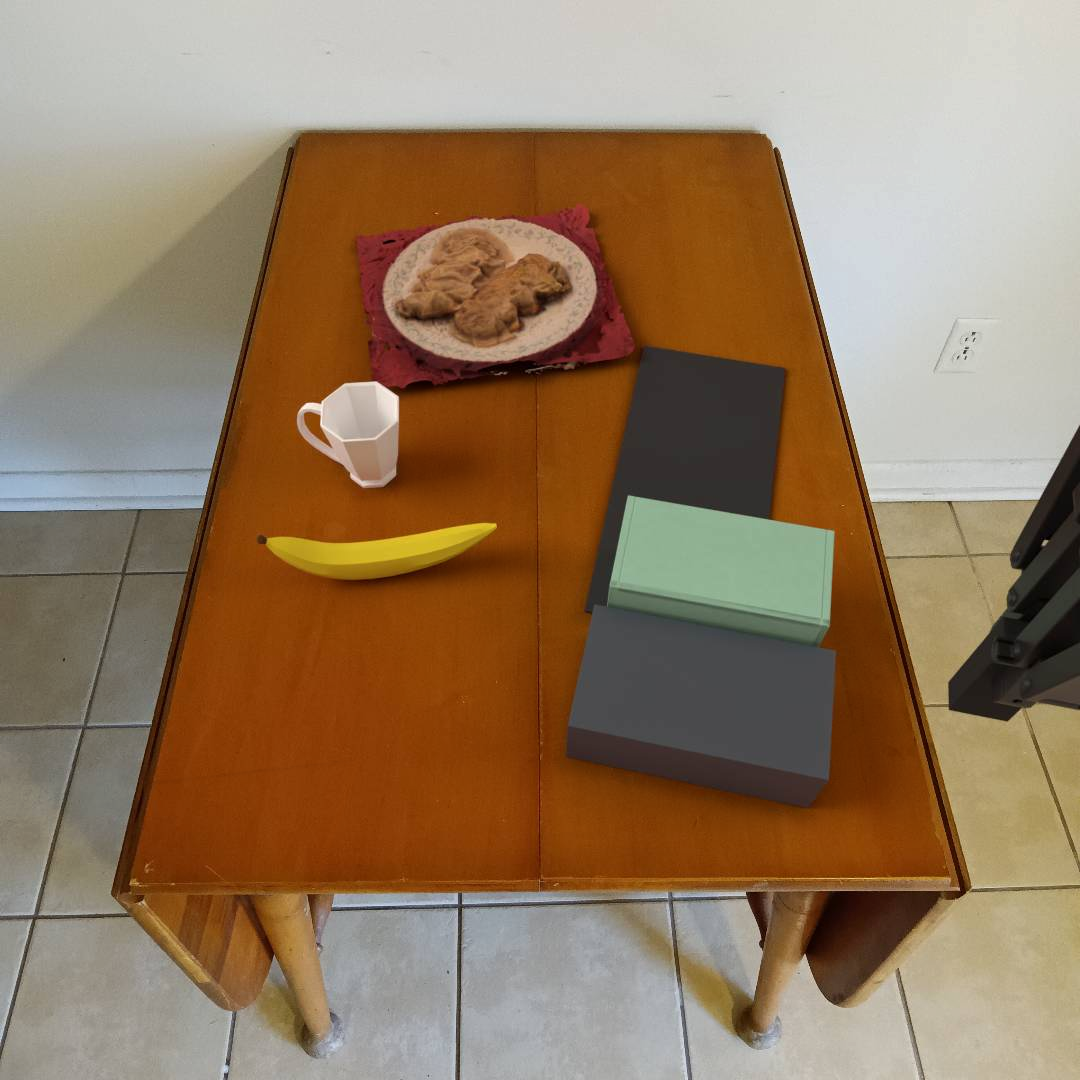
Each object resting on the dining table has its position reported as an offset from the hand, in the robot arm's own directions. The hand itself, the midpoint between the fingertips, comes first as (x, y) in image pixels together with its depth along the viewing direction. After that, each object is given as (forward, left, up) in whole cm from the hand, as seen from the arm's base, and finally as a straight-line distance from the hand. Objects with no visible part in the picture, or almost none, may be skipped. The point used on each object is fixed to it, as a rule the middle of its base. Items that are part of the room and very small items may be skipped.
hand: (977, 701), depth 45 cm
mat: (+14, -31, -26) cm, 43 cm away
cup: (+44, -26, -27) cm, 58 cm away
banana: (+38, -16, -27) cm, 49 cm away
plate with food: (+38, -50, -27) cm, 68 cm away
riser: (+11, -8, -26) cm, 30 cm away
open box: (+11, -14, -22) cm, 28 cm away
